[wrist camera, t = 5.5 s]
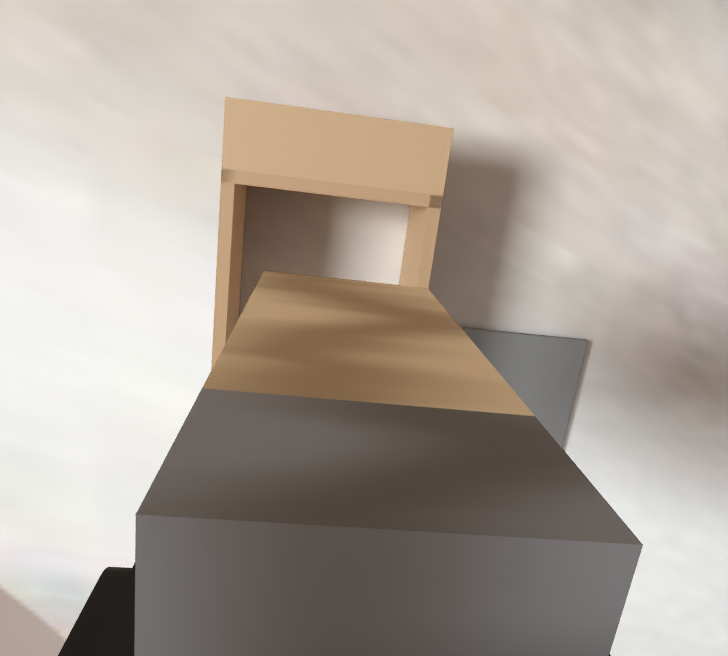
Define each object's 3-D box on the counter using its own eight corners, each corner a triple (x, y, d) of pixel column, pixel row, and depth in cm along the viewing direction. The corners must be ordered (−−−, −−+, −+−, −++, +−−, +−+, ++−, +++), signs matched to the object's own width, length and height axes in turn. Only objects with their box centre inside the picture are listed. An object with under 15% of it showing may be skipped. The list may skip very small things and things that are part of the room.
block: (428, 287, 17) (642, 544, 6) (392, 512, 19) (495, 1023, 8) (264, 270, 17) (135, 514, 5) (246, 503, 19) (129, 1036, 7)
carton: (431, 133, 30) (453, 128, 25) (384, 451, 35) (395, 496, 31) (239, 107, 29) (225, 96, 24) (220, 440, 34) (205, 485, 29)
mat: (585, 339, 34) (587, 340, 34) (550, 482, 37) (552, 484, 37) (443, 325, 33) (444, 326, 33) (418, 473, 36) (419, 476, 36)
